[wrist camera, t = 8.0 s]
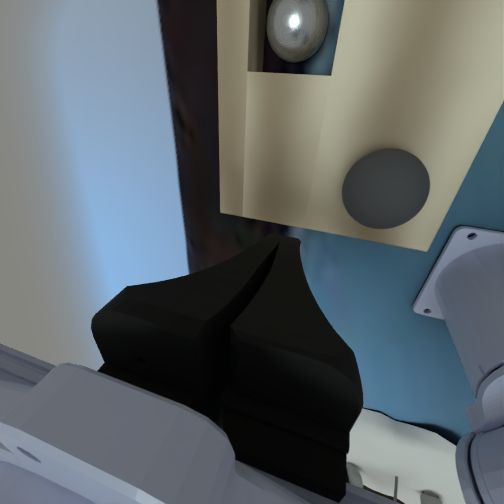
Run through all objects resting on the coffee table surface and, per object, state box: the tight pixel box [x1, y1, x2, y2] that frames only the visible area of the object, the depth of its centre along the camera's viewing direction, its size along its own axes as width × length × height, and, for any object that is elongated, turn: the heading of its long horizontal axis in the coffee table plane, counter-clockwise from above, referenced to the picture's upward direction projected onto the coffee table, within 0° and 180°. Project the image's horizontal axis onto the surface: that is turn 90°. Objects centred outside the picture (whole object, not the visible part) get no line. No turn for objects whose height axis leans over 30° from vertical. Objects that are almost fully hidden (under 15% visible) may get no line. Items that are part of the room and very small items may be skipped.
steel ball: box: [267, 0, 329, 62], centre depth 14 cm, size 3×3×3 cm
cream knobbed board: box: [217, 0, 504, 252], centre depth 13 cm, size 14×22×3 cm, turn 177°
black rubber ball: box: [342, 148, 430, 229], centre depth 13 cm, size 4×4×4 cm
